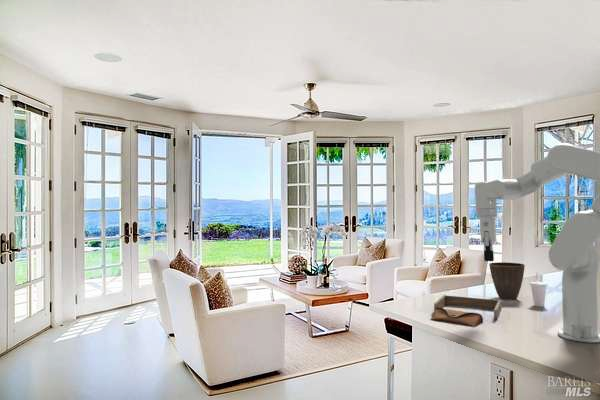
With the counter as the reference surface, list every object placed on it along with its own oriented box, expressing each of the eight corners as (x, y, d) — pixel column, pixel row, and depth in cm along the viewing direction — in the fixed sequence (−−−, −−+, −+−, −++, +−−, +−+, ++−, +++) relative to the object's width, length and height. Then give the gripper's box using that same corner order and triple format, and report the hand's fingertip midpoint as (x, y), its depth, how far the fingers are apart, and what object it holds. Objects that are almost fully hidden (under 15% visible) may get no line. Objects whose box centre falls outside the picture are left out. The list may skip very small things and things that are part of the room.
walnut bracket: (497, 320, 159) (496, 309, 159) (434, 313, 170) (434, 303, 170) (501, 309, 175) (501, 300, 175) (443, 304, 187) (443, 295, 187)
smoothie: (532, 303, 187) (531, 271, 187) (549, 305, 183) (548, 272, 183) (529, 306, 182) (528, 273, 182) (546, 308, 178) (545, 274, 178)
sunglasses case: (427, 319, 161) (430, 303, 163) (433, 325, 165) (436, 309, 168) (477, 327, 150) (479, 309, 152) (481, 333, 154) (484, 316, 157)
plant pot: (493, 301, 192) (492, 265, 192) (487, 294, 206) (486, 261, 207) (529, 302, 188) (528, 266, 189) (520, 295, 203) (519, 262, 203)
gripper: (495, 213, 157) (498, 263, 156) (498, 213, 170) (500, 259, 169) (474, 213, 160) (476, 262, 159) (478, 214, 173) (480, 259, 172)
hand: (489, 260), depth 164 cm, fingers closed
